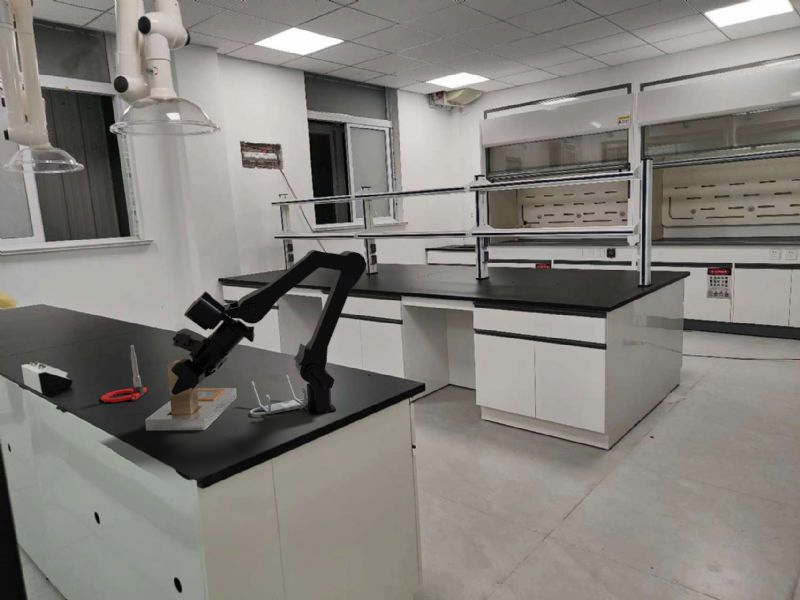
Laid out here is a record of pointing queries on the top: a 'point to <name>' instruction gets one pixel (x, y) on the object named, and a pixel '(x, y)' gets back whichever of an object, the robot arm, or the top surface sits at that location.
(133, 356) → the tow hook
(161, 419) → the grey peg hole board
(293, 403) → the wall mount rack
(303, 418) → the top surface
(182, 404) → the peg
